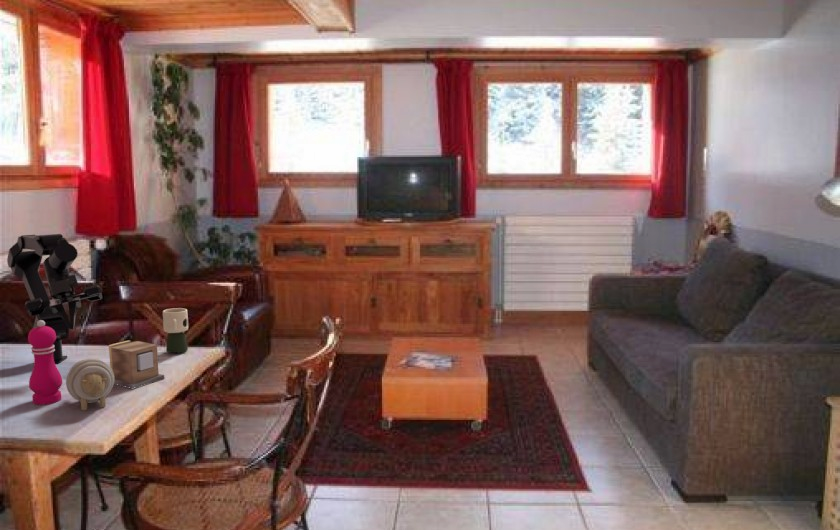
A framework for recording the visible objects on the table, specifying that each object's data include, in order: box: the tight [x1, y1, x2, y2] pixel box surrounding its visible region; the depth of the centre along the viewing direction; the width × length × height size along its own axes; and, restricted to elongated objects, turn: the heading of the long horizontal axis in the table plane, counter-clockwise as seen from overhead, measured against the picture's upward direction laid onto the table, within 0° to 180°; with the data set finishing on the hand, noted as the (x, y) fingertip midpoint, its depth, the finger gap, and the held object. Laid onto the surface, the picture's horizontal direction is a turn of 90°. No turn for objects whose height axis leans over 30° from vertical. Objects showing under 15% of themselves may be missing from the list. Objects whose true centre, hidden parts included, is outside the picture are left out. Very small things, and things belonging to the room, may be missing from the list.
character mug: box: [162, 307, 189, 354], centre depth 220 cm, size 11×7×13 cm, turn 15°
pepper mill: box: [27, 320, 63, 405], centre depth 176 cm, size 7×7×20 cm
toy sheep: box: [65, 357, 115, 412], centre depth 174 cm, size 11×17×11 cm, turn 35°
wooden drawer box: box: [111, 340, 165, 389], centre depth 194 cm, size 18×10×9 cm, turn 59°
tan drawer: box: [108, 340, 153, 371], centre depth 192 cm, size 11×6×7 cm, turn 59°
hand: (72, 329), depth 197 cm, fingers closed
